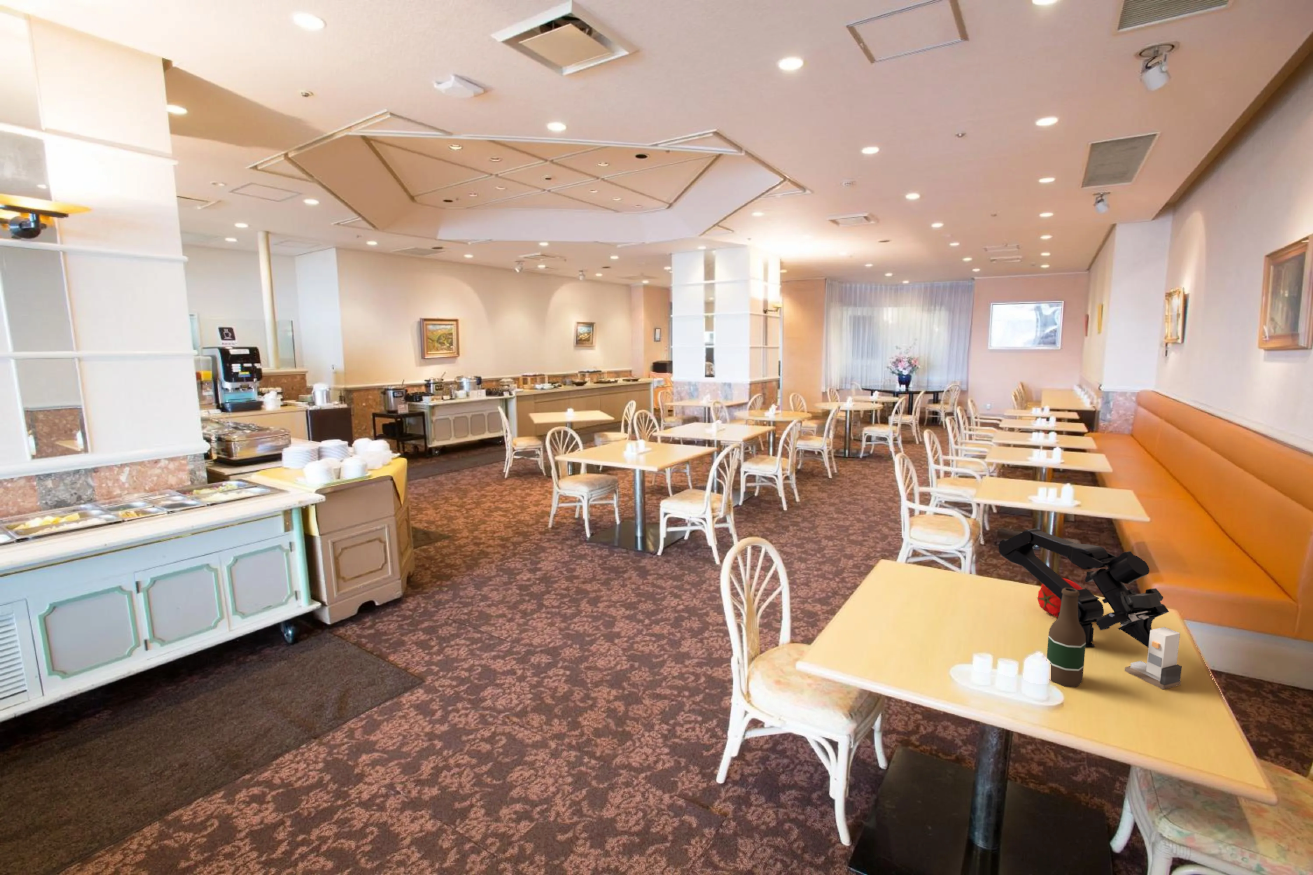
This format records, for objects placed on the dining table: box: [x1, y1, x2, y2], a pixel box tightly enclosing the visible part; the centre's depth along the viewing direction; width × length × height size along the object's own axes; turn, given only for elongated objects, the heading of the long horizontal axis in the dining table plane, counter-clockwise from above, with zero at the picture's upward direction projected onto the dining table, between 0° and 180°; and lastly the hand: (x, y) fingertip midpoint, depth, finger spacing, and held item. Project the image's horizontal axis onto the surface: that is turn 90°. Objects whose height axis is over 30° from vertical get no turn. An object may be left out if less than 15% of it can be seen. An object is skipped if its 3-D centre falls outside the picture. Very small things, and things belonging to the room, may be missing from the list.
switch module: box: [1146, 626, 1181, 678], centre depth 150 cm, size 4×6×11 cm, turn 107°
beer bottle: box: [1046, 588, 1086, 688], centre depth 152 cm, size 8×8×24 cm
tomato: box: [1037, 577, 1084, 618], centre depth 189 cm, size 13×13×13 cm
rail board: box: [1124, 660, 1182, 690], centre depth 153 cm, size 9×6×5 cm, turn 17°
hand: (1154, 649), depth 152 cm, fingers closed, pressing on switch module
